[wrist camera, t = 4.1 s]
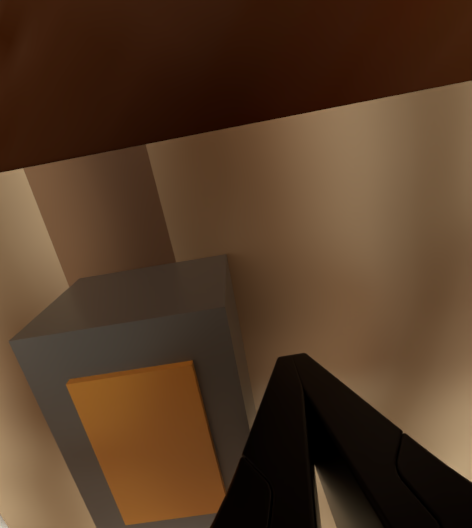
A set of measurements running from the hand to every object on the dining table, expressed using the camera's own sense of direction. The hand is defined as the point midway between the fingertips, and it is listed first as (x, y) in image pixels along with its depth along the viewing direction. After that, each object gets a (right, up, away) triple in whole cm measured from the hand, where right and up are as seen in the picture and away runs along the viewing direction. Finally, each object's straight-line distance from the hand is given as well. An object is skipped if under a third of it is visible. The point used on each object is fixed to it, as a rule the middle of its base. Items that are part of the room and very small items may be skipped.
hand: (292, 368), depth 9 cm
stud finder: (-3, 0, +1) cm, 3 cm away
